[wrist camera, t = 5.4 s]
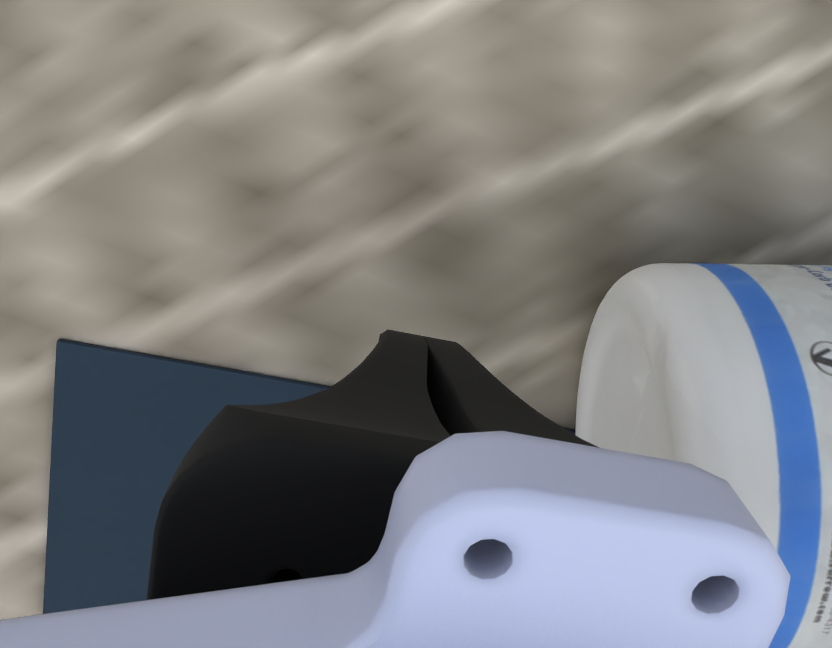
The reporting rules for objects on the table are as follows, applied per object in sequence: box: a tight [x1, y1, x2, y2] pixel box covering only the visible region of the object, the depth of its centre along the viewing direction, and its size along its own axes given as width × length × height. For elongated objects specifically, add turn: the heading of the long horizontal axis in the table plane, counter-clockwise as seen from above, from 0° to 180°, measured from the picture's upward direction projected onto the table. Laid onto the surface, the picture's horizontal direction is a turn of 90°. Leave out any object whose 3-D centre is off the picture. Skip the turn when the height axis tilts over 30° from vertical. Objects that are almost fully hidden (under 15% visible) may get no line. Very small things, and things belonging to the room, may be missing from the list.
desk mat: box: [43, 339, 576, 614], centre depth 27 cm, size 16×20×1 cm
